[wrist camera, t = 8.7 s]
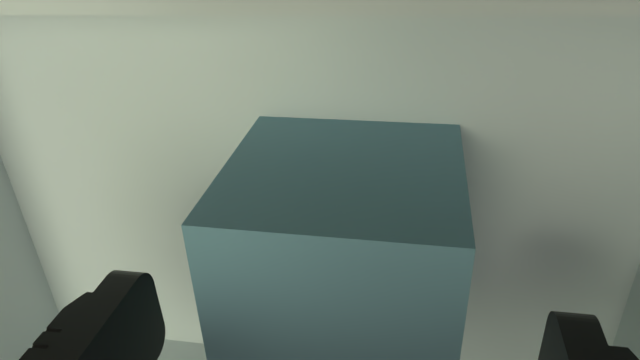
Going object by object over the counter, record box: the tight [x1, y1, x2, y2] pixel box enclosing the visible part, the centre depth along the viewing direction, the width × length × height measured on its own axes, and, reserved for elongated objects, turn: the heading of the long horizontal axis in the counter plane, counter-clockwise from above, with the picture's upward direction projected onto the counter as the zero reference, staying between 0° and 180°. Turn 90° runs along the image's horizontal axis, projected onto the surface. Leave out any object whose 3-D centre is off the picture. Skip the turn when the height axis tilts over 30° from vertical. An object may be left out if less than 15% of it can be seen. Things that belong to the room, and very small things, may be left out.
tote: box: [0, 0, 640, 360], centre depth 13 cm, size 20×14×5 cm
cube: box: [181, 116, 476, 360], centre depth 12 cm, size 5×5×5 cm
